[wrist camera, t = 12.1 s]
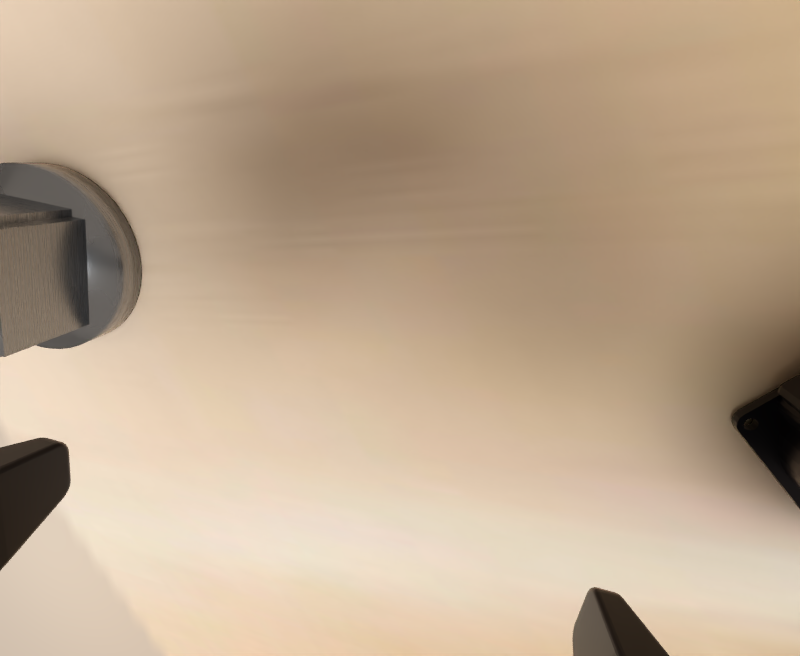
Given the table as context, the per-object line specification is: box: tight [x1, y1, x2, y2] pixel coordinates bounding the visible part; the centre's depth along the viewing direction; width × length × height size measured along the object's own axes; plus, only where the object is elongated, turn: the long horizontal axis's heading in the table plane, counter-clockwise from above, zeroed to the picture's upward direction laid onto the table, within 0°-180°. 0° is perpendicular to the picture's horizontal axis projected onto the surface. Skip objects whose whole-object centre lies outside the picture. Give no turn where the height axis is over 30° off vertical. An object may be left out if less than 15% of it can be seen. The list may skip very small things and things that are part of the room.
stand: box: [0, 163, 141, 357], centre depth 20 cm, size 8×8×6 cm
